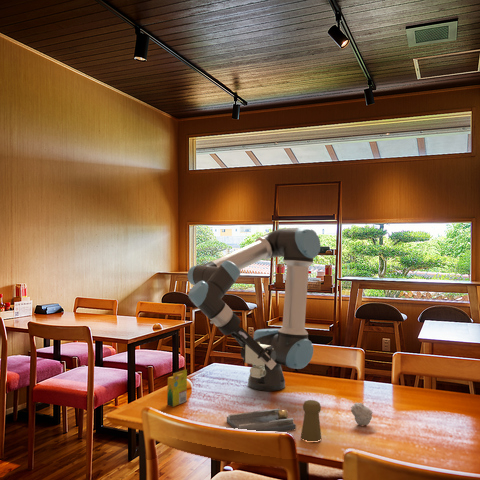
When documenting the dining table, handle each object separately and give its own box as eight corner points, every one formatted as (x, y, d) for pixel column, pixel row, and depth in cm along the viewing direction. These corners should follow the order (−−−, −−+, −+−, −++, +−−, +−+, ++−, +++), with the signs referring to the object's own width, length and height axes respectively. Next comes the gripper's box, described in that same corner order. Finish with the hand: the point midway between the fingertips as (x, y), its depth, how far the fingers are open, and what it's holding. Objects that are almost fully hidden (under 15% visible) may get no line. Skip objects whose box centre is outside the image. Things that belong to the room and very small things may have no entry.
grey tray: (276, 415, 151) (277, 403, 151) (295, 429, 139) (296, 416, 139) (226, 421, 145) (226, 409, 145) (241, 437, 132) (242, 423, 133)
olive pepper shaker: (298, 434, 135) (299, 397, 136) (318, 434, 136) (319, 397, 136) (303, 443, 129) (304, 404, 130) (323, 443, 130) (324, 404, 130)
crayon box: (180, 400, 164) (181, 367, 165) (186, 401, 163) (187, 369, 163) (166, 405, 158) (167, 371, 159) (172, 407, 157) (173, 373, 157)
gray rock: (348, 421, 147) (349, 399, 147) (370, 422, 147) (370, 400, 147) (352, 428, 141) (353, 406, 141) (375, 429, 141) (375, 407, 141)
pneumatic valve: (269, 381, 151) (270, 345, 151) (239, 375, 157) (240, 341, 157) (277, 377, 156) (277, 342, 156) (247, 372, 162) (248, 338, 162)
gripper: (207, 322, 161) (247, 363, 167) (229, 333, 140) (274, 380, 146) (221, 307, 163) (260, 347, 169) (245, 316, 142) (288, 362, 148)
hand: (266, 362), depth 157 cm, fingers closed on pneumatic valve, 10 cm apart
